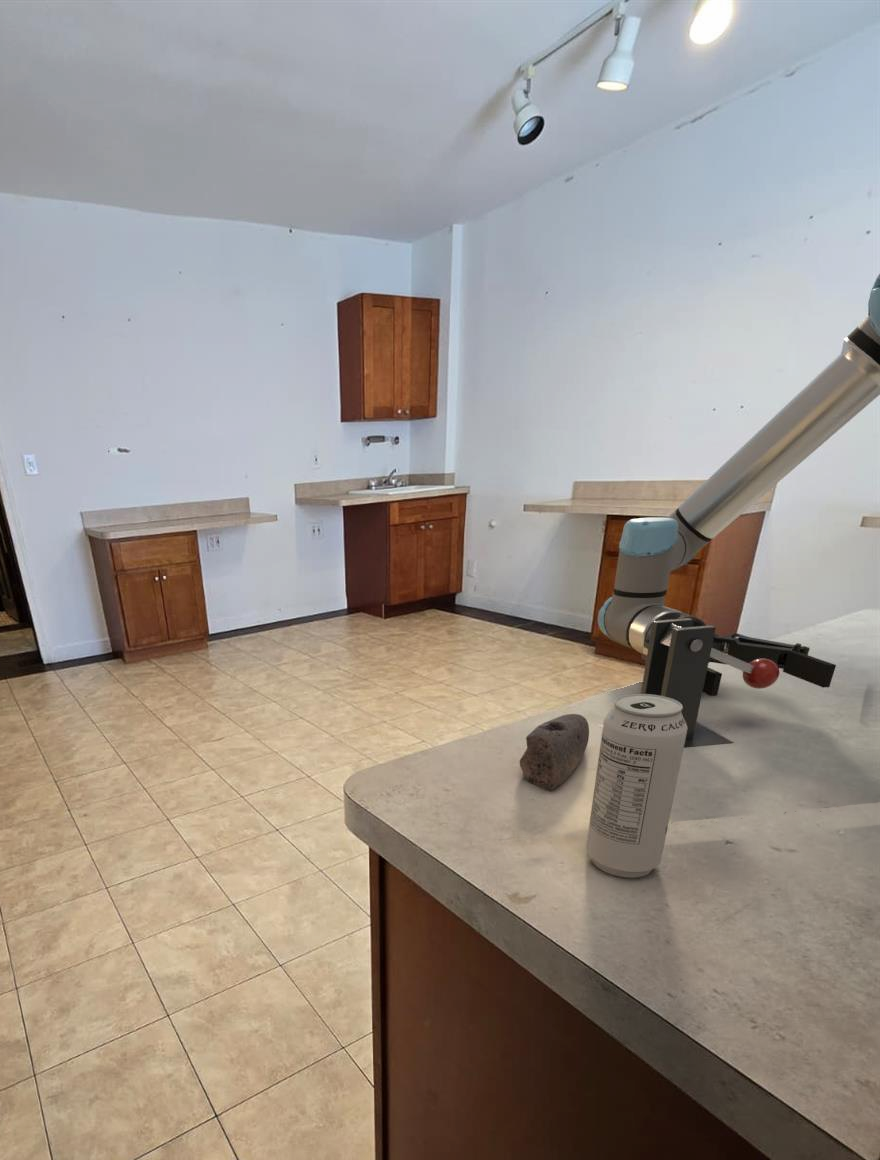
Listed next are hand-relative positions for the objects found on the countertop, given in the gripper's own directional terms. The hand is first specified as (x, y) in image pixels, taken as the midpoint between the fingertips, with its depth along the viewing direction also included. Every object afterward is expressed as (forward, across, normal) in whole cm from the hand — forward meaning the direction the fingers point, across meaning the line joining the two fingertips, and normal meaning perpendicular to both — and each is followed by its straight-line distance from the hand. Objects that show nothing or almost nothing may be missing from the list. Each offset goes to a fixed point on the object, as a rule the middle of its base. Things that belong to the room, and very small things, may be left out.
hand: (773, 680), depth 74 cm
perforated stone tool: (+4, +27, -8) cm, 28 cm away
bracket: (-2, +11, -8) cm, 13 cm away
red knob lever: (-2, +6, +1) cm, 6 cm away
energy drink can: (+22, +28, -8) cm, 37 cm away
